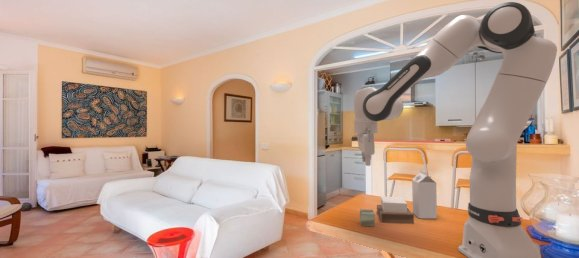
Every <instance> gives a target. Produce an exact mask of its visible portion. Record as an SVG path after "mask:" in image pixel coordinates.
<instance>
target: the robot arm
mask: <svg viewBox="0 0 579 258" xmlns="http://www.w3.org/2000/svg"><path fill="white" fill-rule="evenodd" d="M535 32H536V31H535V27H534V21H533V17H532V14H531V12H530V11H529V9H528V8H527V7H526V6H525V5H523V4H522V3H520V2H517V1H516V2H514V1H509V2H503V3H500V4H497V5H496V6H493V7H492V8H491V9H490V10H489V11H487V12H486V14H485V15H484V16H483V18H482V19H479V18H477V17H475V16H472V15H469V14H460V15H458V16H456V17H455V18H453V19H452V20H451V21H449V22H448V23H447V24H446V25H444V26H443V27H442V28H441V29H440V30H439V31H438V32H437V33H435V35H434V36H432V38H431V39H430V40H429V41H428V42H427V43H426V44H425V45H424V46H423V48H422V49H420V51H419V52H418V53H417V54H416V55H415V56H414V57H412V59H411V60H410V61H409V62H408V63H407V64H405V65H404V66H403V67H402V68H401V69H400V70H399V71H398V72H397V73H396V74H394V76H392V77H391V78H390V80H388V81H387V82H386V83H385V84H384V85H383V86H382V87H381V88H379V89H377V88H376V87H375V86H365V87H362V88H361V87H360V88H359V89H358V90H356V92H355V94H354V98H353V99H354V100H353V112H354V119H353V126H354V128H353V130H354V131H353V132H354V134H356V137H357V145H358V146H357V147H358V150H359V151H360V152H361V159H362V162H363V163H364V164H365V166H367V167H370V166H371V163H372V155H375V153H376V152H375V151H376V150H375V147H376V146H375V134H378V122H381V121H389V120H394V119H396V118H399V117H400V116H401V115H402V113H403V111H404V102H403V100H402V99H401V97H402V96H403V95H404V94H405V93H406V92H407V91H409V90H410V89H411V88H412V87H413V86H414V85H416V84H417V83H419V81H422V80H425V79H427V78H431V77H432V78H433V77H436V76H440V75H443V74H444V73H445V72H447V71H448V70H450V69H451V68H452V67H454V66H455V64H457V63H458V61H460V60H461V59H462V58H463V57H464V56H465V55H467V53H468V52H470V51H471V50H473V49H474V48H478V49H480V50H484V51H487V52H490V53H495V54H502V55H503V56H502V57H503V59H502V62H501V65H500V67H499V70H498V71H497V73H496V74H497V75H496V76H495V79H494V81H493V83H492V85H491V88H490V90H489V92H488V95H487V97H486V99H485V101H484V103H483V104H482V106H481V109H480V111H478V114H477V116H476V118H475V120H474V122H473V124H472V125H471V128H470V130H469V132H468V134H467V135H466V138H465V147H466V150H467V152H468V153H469V155H470V156H471V162H470V163H471V164H470V166H471V167H470V175H469V202H467V203H468V204H467V205H468V206H467V214H468V219H467V220H466V222H464V224H463V233H462V244H460V245H458V249H457V250H458V252H460V253H462V254H463V255H464V256H465V257H467V258H542V255H541V246H540V245H539V244H538V243H536V242H533V240H532V239H531V238H530V236H529V235H528V233H527V232H526V231H525V229H524V228H523V227H522V222H523V220H522V219H523V218H524V217H521V215H520V212H519V210H518V208H517V154H518V153H517V150H518V149H517V144H518V141H519V140H520V137H521V136H522V134H523V131H524V130H525V127H526V126H527V123H528V121H529V120H530V118H531V116H532V114H533V112H534V109H535V108H536V106H537V104H538V101H539V99H540V98H541V95H542V93H543V91H544V89H545V87H546V84H547V83H548V80H549V79H550V76H551V74H552V72H553V68H554V65H555V61H556V58H557V54H558V47H557V44H556V43H554V42H553V41H552V40H550V39H547V38H545V37H538V36H534V34H535Z"/></svg>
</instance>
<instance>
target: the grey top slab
mask: <svg viewBox="0 0 579 258" xmlns="http://www.w3.org/2000/svg"><path fill="white" fill-rule="evenodd" d="M380 205H381V207H382V209H383V212H389V213H407V208H408V203H407V201H406V200H405V198H404V197H401V196H380Z"/></svg>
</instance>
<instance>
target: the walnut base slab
mask: <svg viewBox="0 0 579 258" xmlns="http://www.w3.org/2000/svg"><path fill="white" fill-rule="evenodd" d="M376 213H377V215H378V217H379V219H380V221H381V223H385V224H386V223H387V224H388V223H389V224H391V223H392V224H412V225H413V224H414V221H415V220H414V219H415V218H414V215H415V214H414V213H413V212H412V211H411V210H410V209H409V208H408V207H407V213H389V212H383V209H382V207H381V204H376Z"/></svg>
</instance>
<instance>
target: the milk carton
mask: <svg viewBox="0 0 579 258" xmlns="http://www.w3.org/2000/svg"><path fill="white" fill-rule="evenodd" d="M428 174H429V173H428V172H427V171H426V172H425V171H424V170H422V169H420V171H419V173H418V174H416V175H415V176H414V177H413V178H412V180H411V183H412V186H411V188H412V189H411V190H412V195H411V196H412V197H411V198H412V214H413V215H415V216H416V217H417V218H418V219H431V220H432V219H436V220H437V218H438V213H437V209H438V206H437V203H438V202H437V199H438V198H437V197H438V196H437V182H436V181H435V180H433V178H431V177H430V176H428Z"/></svg>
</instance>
